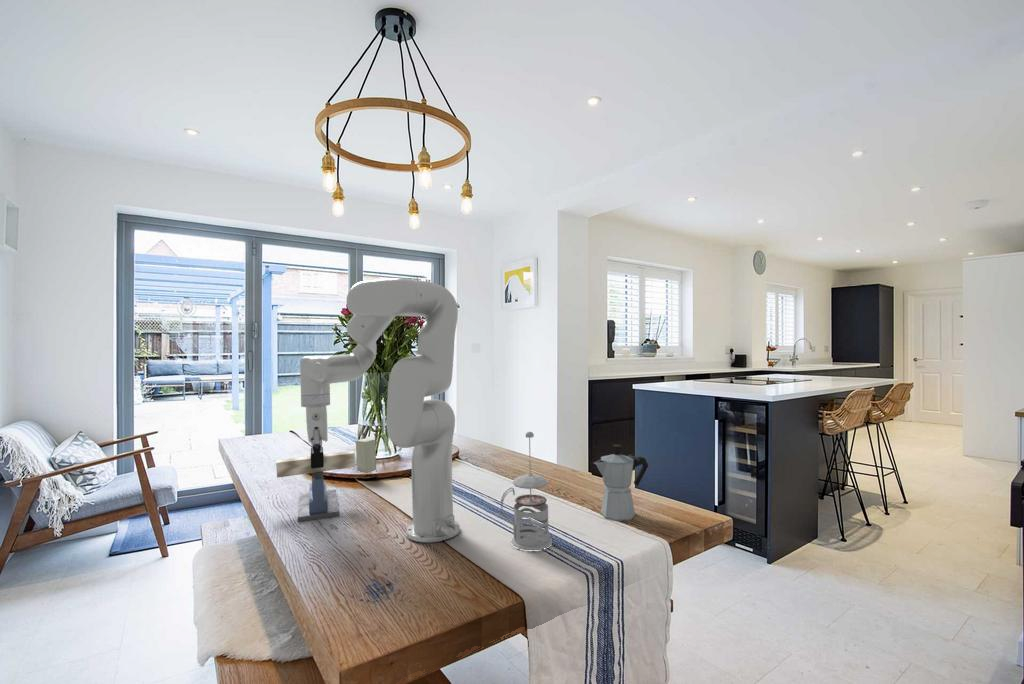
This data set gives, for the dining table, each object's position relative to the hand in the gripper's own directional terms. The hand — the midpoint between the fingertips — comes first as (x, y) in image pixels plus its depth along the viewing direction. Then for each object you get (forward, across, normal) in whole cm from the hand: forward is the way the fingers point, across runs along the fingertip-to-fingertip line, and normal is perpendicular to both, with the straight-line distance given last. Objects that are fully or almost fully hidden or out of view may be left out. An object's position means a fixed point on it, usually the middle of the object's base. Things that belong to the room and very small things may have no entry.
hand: (317, 464), depth 134 cm
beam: (+2, 0, 0) cm, 2 cm away
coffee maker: (+12, -41, -72) cm, 84 cm away
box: (+12, +23, -15) cm, 30 cm away
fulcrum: (+12, 0, 0) cm, 12 cm away
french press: (+12, -46, -43) cm, 64 cm away
